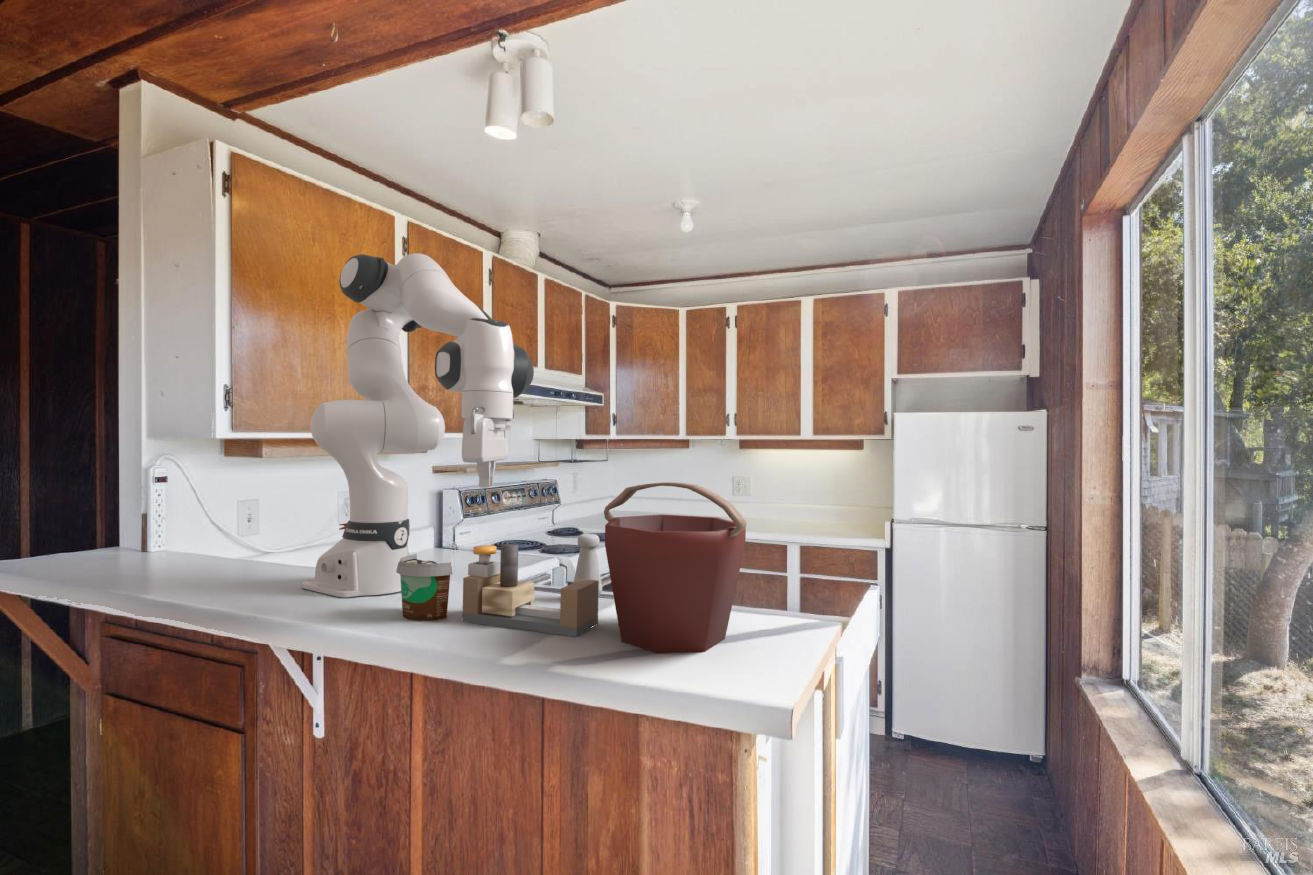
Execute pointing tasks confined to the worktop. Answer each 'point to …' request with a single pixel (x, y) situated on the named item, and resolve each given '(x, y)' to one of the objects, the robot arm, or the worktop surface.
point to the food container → (424, 588)
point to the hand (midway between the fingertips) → (486, 487)
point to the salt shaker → (588, 559)
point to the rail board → (568, 620)
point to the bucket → (674, 574)
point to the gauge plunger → (484, 553)
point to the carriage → (507, 586)
